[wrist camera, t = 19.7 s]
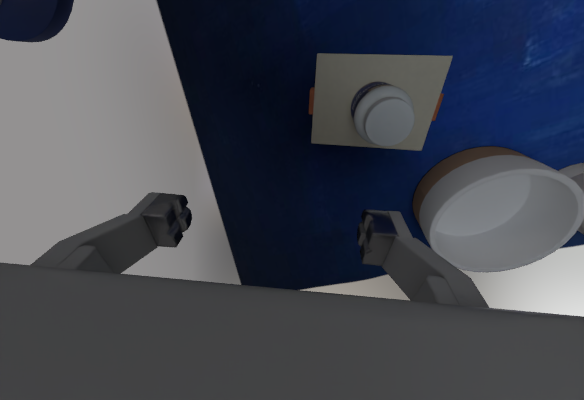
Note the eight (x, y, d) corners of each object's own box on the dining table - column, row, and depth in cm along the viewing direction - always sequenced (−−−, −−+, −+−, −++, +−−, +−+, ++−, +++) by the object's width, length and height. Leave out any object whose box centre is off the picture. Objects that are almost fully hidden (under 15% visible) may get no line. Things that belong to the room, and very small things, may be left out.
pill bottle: (382, 69, 25) (406, 73, 17) (404, 109, 27) (435, 130, 19) (341, 101, 28) (344, 117, 19) (363, 136, 29) (375, 165, 21)
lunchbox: (310, 132, 36) (306, 143, 31) (314, 54, 30) (311, 53, 26) (413, 139, 34) (426, 151, 29) (438, 57, 28) (459, 56, 24)
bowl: (444, 251, 43) (465, 287, 36) (391, 192, 39) (404, 220, 32) (554, 201, 35) (609, 236, 28) (504, 119, 31) (555, 137, 24)
